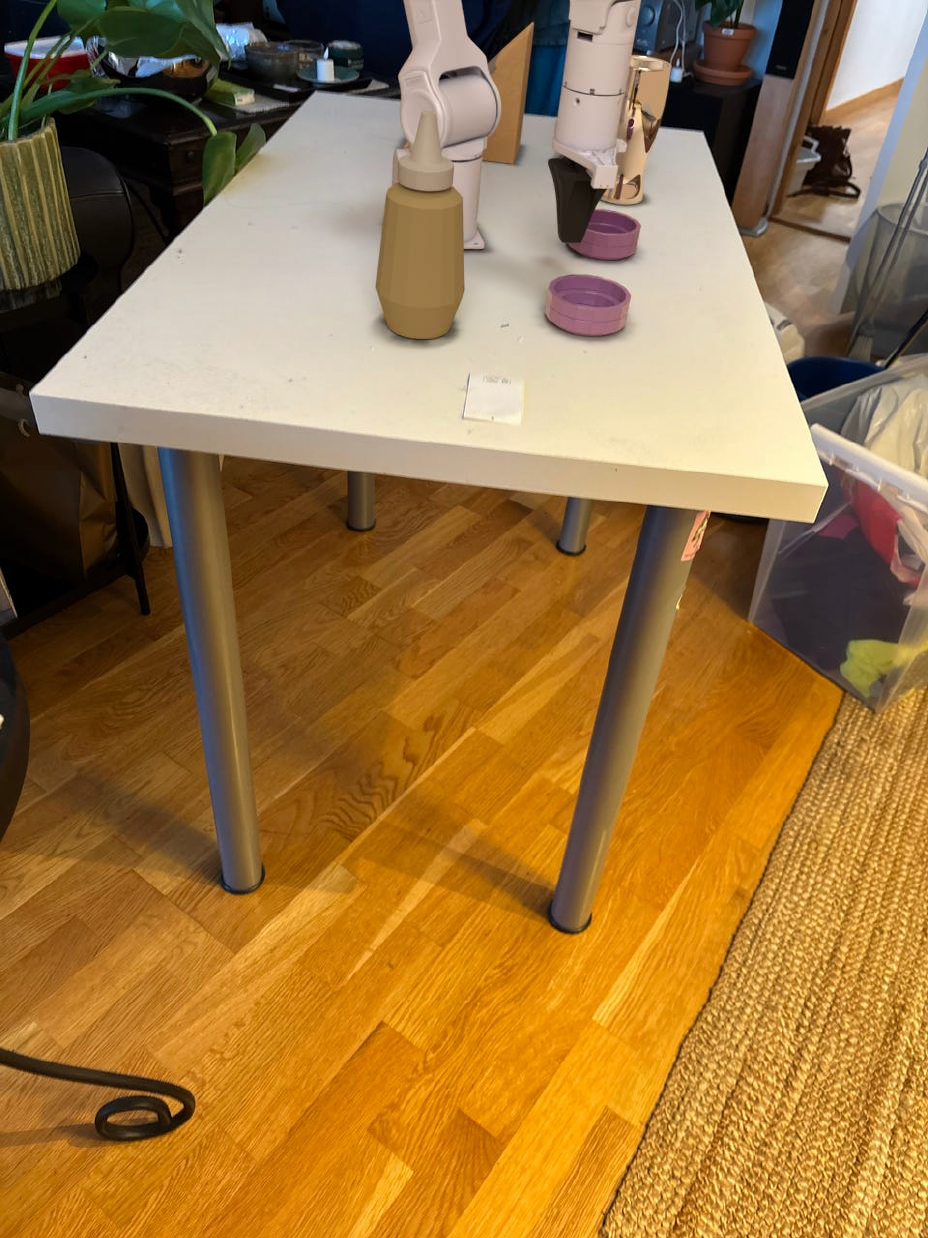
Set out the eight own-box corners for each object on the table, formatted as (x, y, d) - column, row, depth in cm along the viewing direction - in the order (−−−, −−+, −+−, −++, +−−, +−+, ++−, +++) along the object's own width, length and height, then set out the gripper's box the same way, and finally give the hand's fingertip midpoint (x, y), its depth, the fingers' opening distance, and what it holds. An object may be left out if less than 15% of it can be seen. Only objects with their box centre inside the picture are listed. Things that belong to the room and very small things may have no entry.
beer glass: (643, 209, 113) (672, 72, 103) (588, 200, 114) (611, 63, 103) (646, 191, 118) (674, 59, 108) (593, 183, 119) (616, 51, 108)
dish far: (576, 262, 99) (581, 234, 97) (558, 235, 104) (562, 208, 102) (644, 263, 100) (650, 235, 98) (622, 235, 106) (628, 209, 104)
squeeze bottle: (414, 300, 89) (423, 93, 76) (479, 328, 85) (499, 116, 73) (356, 324, 84) (356, 108, 72) (422, 355, 80) (433, 134, 68)
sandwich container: (413, 131, 129) (418, 6, 119) (520, 145, 128) (534, 20, 118) (401, 149, 123) (405, 18, 112) (513, 164, 122) (528, 34, 112)
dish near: (556, 340, 85) (561, 309, 83) (536, 303, 90) (540, 273, 88) (635, 339, 86) (641, 309, 84) (610, 303, 92) (616, 274, 90)
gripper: (661, 112, 78) (629, 269, 87) (611, 69, 88) (587, 214, 97) (583, 109, 76) (558, 269, 86) (541, 65, 87) (523, 213, 96)
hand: (569, 239), depth 91 cm, fingers closed
